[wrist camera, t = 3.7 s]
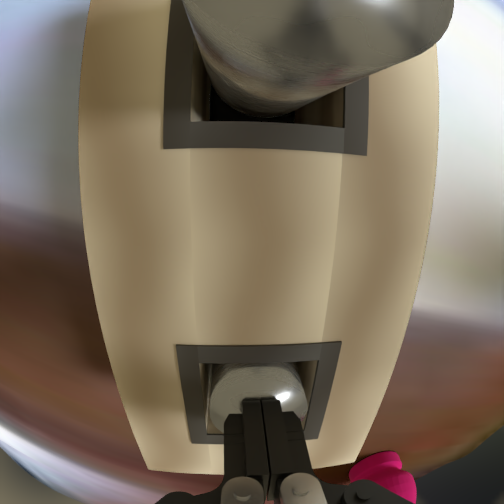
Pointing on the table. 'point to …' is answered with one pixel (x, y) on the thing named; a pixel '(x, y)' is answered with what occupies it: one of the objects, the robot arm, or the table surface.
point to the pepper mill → (386, 474)
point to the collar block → (247, 234)
